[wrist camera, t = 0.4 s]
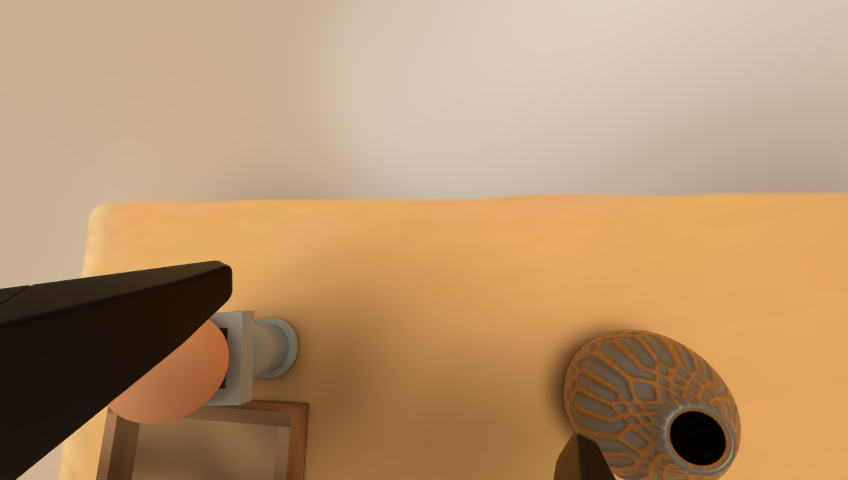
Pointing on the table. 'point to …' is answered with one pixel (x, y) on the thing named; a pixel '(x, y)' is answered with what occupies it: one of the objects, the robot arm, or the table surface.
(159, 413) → the ball
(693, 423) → the vase
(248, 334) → the stand
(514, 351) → the table surface
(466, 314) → the table surface
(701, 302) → the table surface
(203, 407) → the tray
